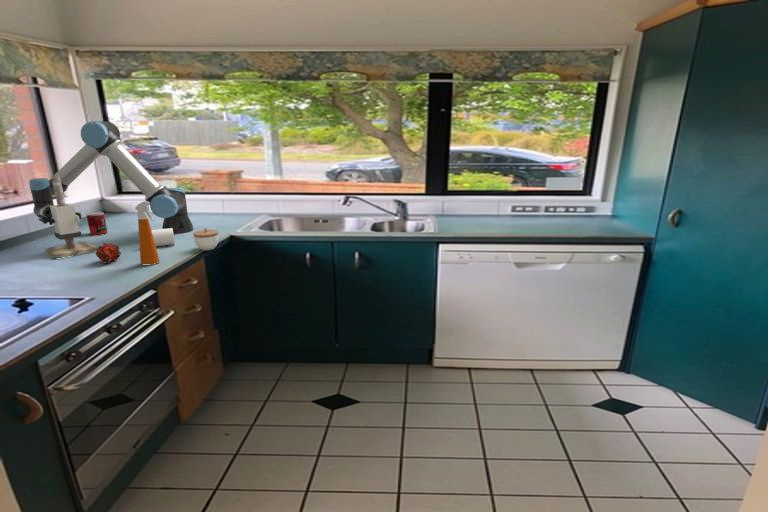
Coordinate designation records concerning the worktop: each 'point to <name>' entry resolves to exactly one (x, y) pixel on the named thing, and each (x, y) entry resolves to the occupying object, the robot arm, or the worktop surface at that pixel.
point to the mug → (163, 237)
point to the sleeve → (65, 219)
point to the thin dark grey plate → (68, 235)
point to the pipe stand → (70, 246)
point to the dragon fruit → (108, 252)
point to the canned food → (97, 223)
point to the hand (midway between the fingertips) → (68, 220)
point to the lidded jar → (206, 239)
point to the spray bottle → (146, 235)
